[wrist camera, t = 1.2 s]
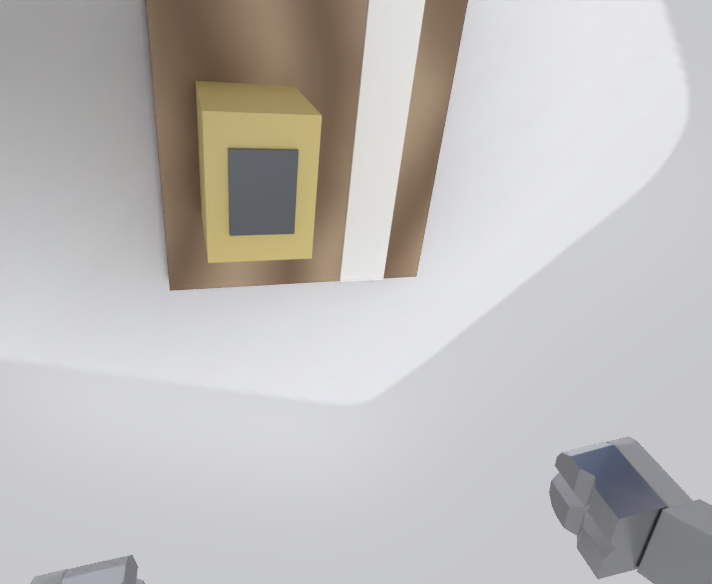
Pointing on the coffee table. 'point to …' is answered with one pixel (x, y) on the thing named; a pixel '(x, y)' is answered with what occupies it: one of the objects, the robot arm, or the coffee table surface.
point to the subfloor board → (338, 128)
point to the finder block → (257, 171)
